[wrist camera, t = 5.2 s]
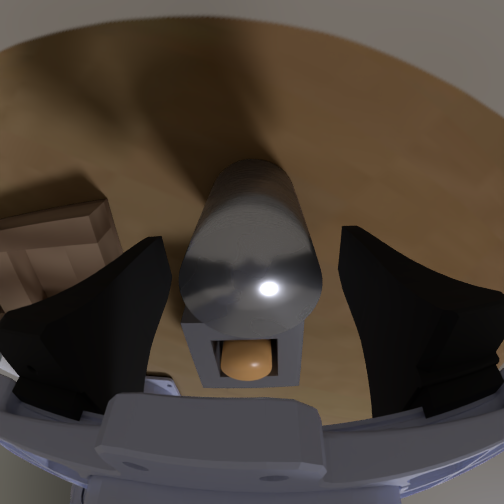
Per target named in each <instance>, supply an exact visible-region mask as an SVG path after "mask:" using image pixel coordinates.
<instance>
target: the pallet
mask: <svg viewBox="0 0 504 504" xmlns="http://www.w3.org/2000/svg"><path fill="white" fill-rule="evenodd" d="M122 254H123V251H122V248H121V245H120V241H119V238H118V235H117V232H116V228H115V225H114V221H113V218H112V214H111V211H110V207H109V203H108V199H102V200H96V201H90V202H84V203H78V204H72V205H67V206H61V207H56V208H51V209H46V210H41V211H36V212H31V213H26V214H22V215H17V216H13V217H8V218H4V219H0V320H1V319H2V317H3V316H4V315H5V313H6V312H8V311H10V310H14V309H17V308H21V307H24V306H27V305H30V304H33V303H36V302H39V301H41V300H44V299H46V298H49V297H51V296H53V295H56V294H58V293H60V292H62V291H64V290H66V289H68V288H70V287H72V286H74V285H76V284H78V283H79V282H81V281H83V280H85V279H86V278H88V277H90V276H91V275H93V274H94V273H96V272H97V271H99V270H100V269H102V268H103V267H105V266H106V265H108V264H109V263H110V262H112V261H113V260H115V259H116V258H118V257H119V256H120V255H122Z"/></svg>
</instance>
